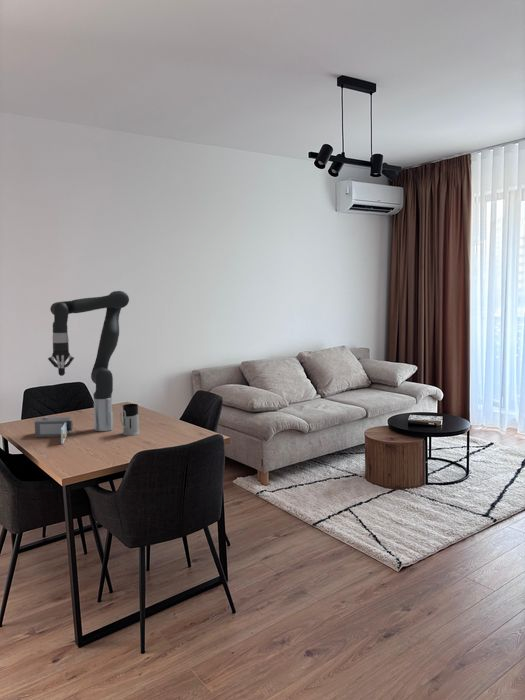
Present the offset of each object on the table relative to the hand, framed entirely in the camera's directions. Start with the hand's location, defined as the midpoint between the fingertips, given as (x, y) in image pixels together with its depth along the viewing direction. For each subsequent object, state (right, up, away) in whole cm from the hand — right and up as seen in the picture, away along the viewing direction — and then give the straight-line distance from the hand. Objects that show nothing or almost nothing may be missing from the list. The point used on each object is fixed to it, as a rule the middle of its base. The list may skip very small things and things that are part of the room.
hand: (61, 375), depth 279 cm
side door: (+5, -31, -8) cm, 33 cm away
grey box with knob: (-6, -31, +4) cm, 32 cm away
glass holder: (+33, -31, +3) cm, 46 cm away
